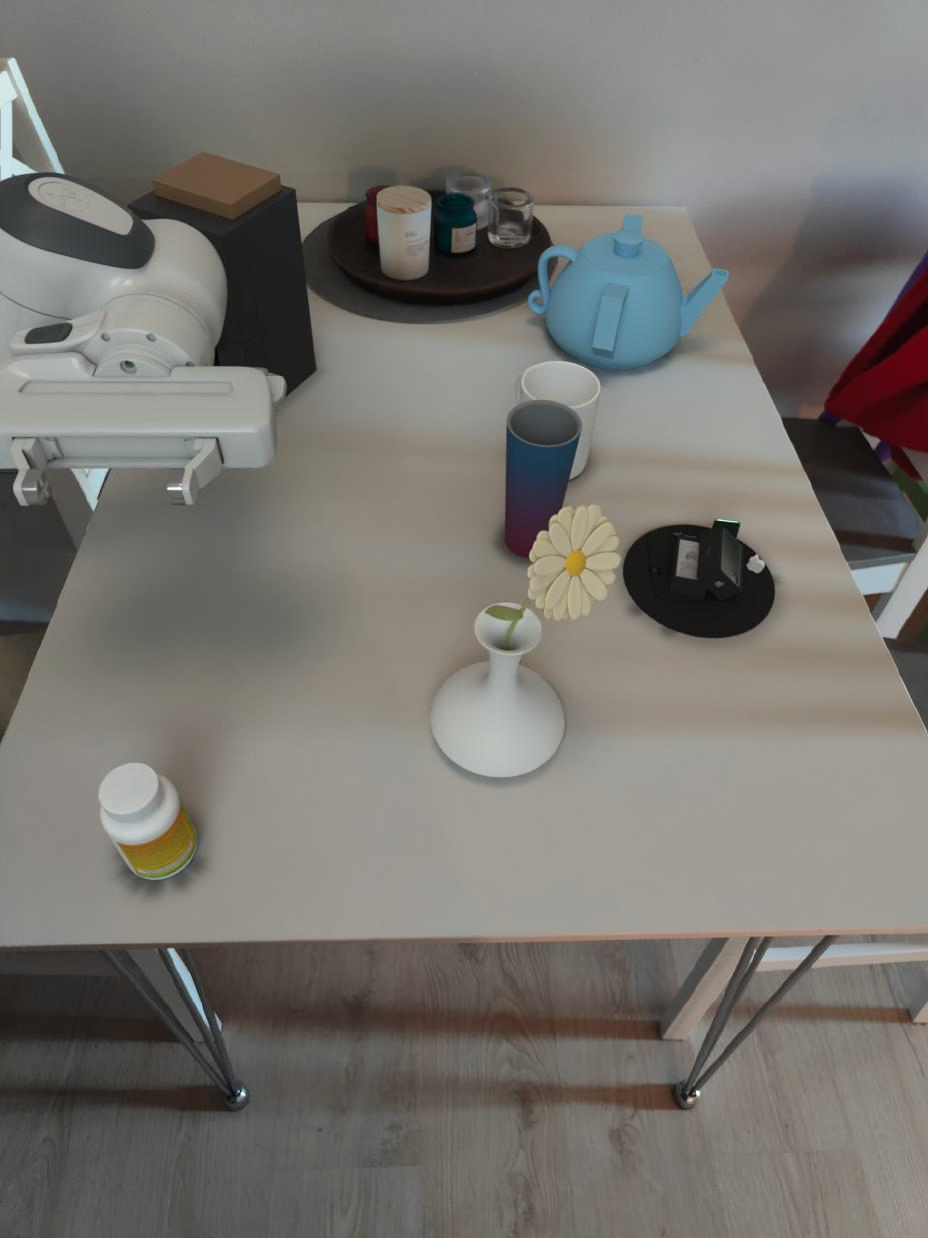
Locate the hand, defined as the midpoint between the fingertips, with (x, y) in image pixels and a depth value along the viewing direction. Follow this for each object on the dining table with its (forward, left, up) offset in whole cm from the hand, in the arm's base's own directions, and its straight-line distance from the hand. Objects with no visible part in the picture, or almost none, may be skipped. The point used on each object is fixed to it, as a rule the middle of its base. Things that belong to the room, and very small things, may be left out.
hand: (104, 498), depth 54 cm
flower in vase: (+27, -4, -25) cm, 37 cm away
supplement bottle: (-1, -12, -25) cm, 28 cm away
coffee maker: (+2, +47, -25) cm, 53 cm away
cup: (+33, +18, -25) cm, 45 cm away
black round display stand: (+49, +11, -25) cm, 56 cm away
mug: (+37, +32, -25) cm, 55 cm away
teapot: (+51, +54, -25) cm, 78 cm away
